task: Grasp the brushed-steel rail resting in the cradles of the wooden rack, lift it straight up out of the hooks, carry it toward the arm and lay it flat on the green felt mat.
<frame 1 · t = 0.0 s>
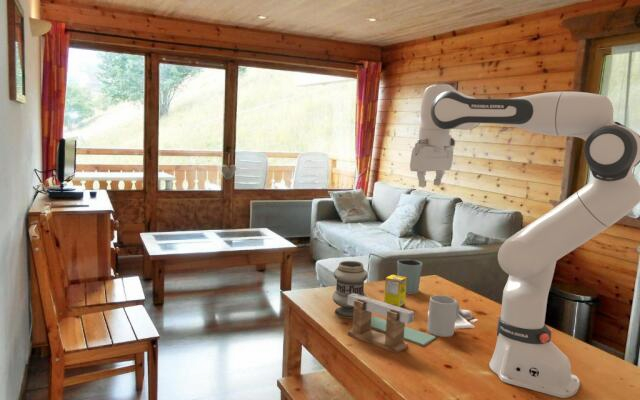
hand: (429, 185, 148), 48 cm above the table, fingers open, 8 cm apart
mat: (396, 330, 158), on the table
apothecary jar: (348, 313, 172), on the table
rail: (379, 312, 149), point 9 cm above the table, touching rack
supplement box: (394, 306, 182), on the table
rack: (377, 340, 150), on the table
mug: (444, 331, 160), on the table
cloth: (455, 318, 174), on the table
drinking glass: (407, 290, 201), on the table
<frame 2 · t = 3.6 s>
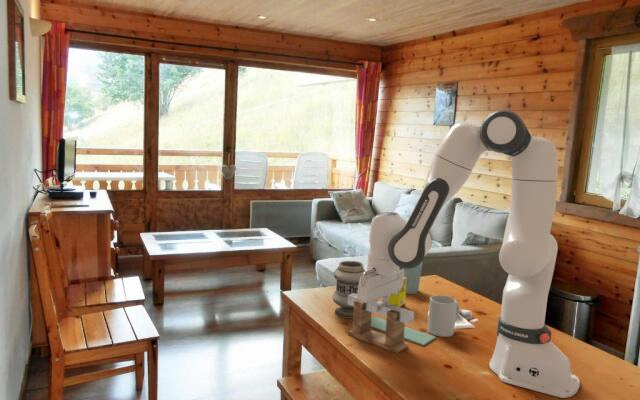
hand: (379, 309, 148), 10 cm above the table, fingers closed on rail, 3 cm apart
rail: (379, 312, 149), point 9 cm above the table, touching gripper, rack
everything else where it was.
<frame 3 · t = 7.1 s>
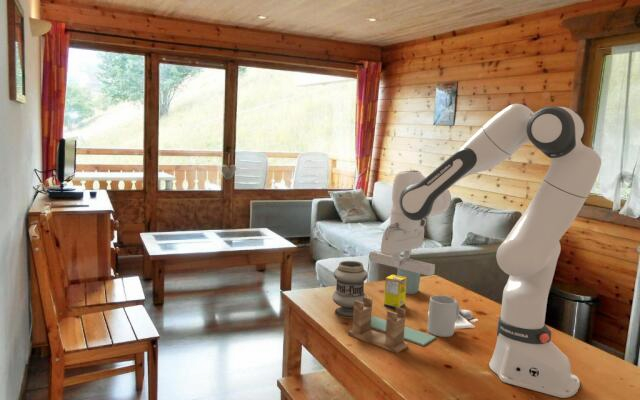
hand: (401, 264, 155), 22 cm above the table, fingers closed on rail, 3 cm apart
rail: (400, 267, 155), point 21 cm above the table, touching gripper
everything else where it was.
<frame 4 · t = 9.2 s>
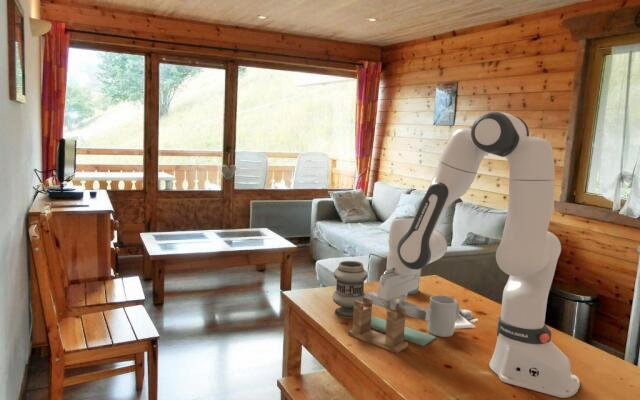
hand: (397, 307, 157), 8 cm above the table, fingers closed on rail, 3 cm apart
rail: (396, 310, 157), point 7 cm above the table, touching gripper
everything else where it was.
when the fingers open (3 cm above the table, at t = 11.0 s): rail drops 1 cm, resting on mat.
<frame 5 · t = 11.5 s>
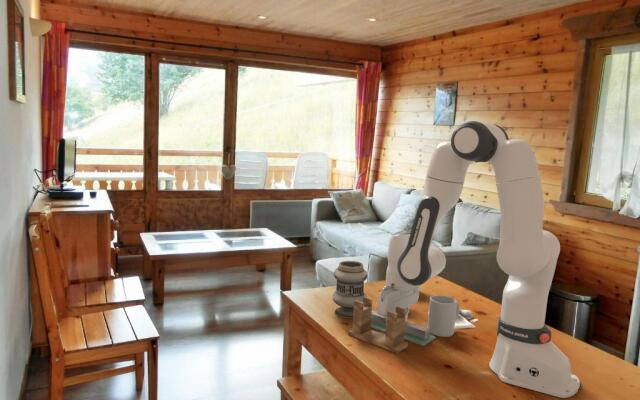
hand: (396, 322, 158), 3 cm above the table, fingers open, 8 cm apart
rail: (396, 329, 158), point 1 cm above the table, touching mat
everything else where it was.
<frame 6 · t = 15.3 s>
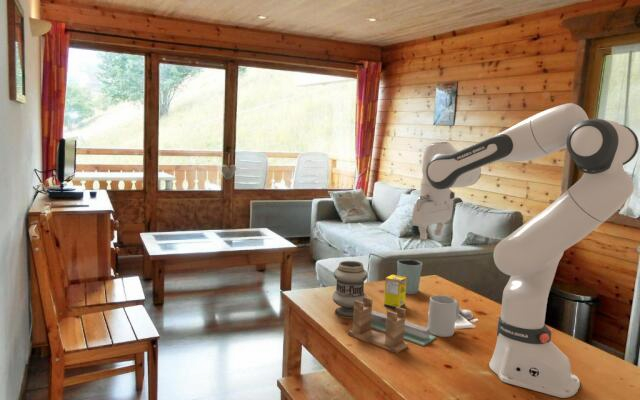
hand: (430, 237, 155), 31 cm above the table, fingers open, 8 cm apart
nothing on the table moved.
at the end: rail inside the target area on the mat (0.0 cm from its centre), point 0.6 cm above the mat's base; rail point 0.6 cm above the table; the gripper is holding nothing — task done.
